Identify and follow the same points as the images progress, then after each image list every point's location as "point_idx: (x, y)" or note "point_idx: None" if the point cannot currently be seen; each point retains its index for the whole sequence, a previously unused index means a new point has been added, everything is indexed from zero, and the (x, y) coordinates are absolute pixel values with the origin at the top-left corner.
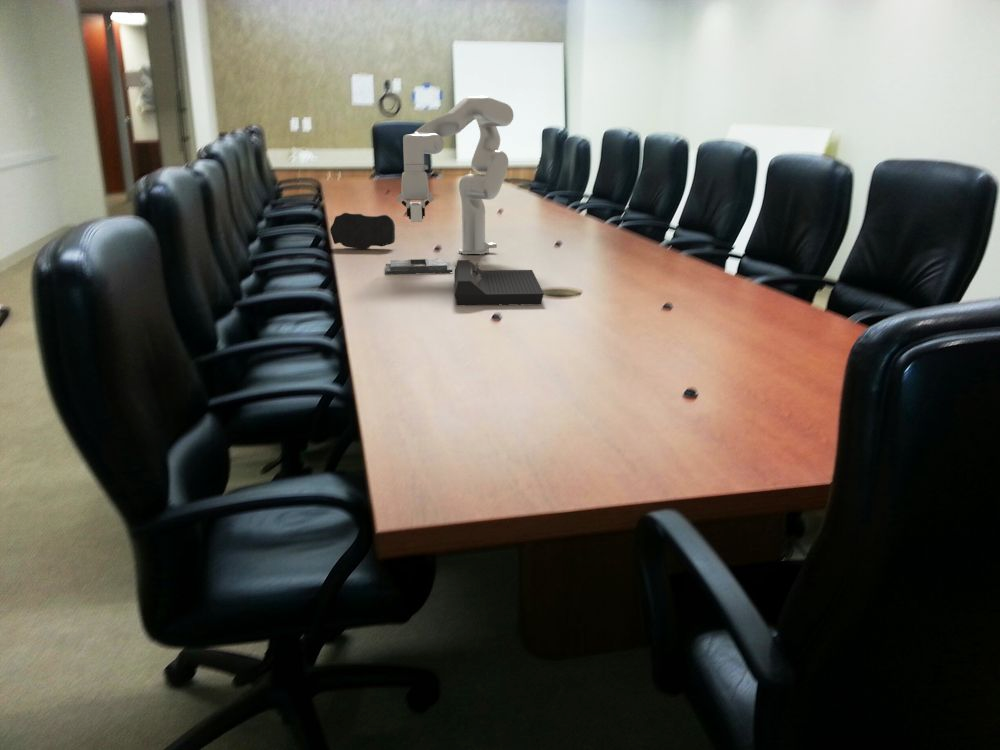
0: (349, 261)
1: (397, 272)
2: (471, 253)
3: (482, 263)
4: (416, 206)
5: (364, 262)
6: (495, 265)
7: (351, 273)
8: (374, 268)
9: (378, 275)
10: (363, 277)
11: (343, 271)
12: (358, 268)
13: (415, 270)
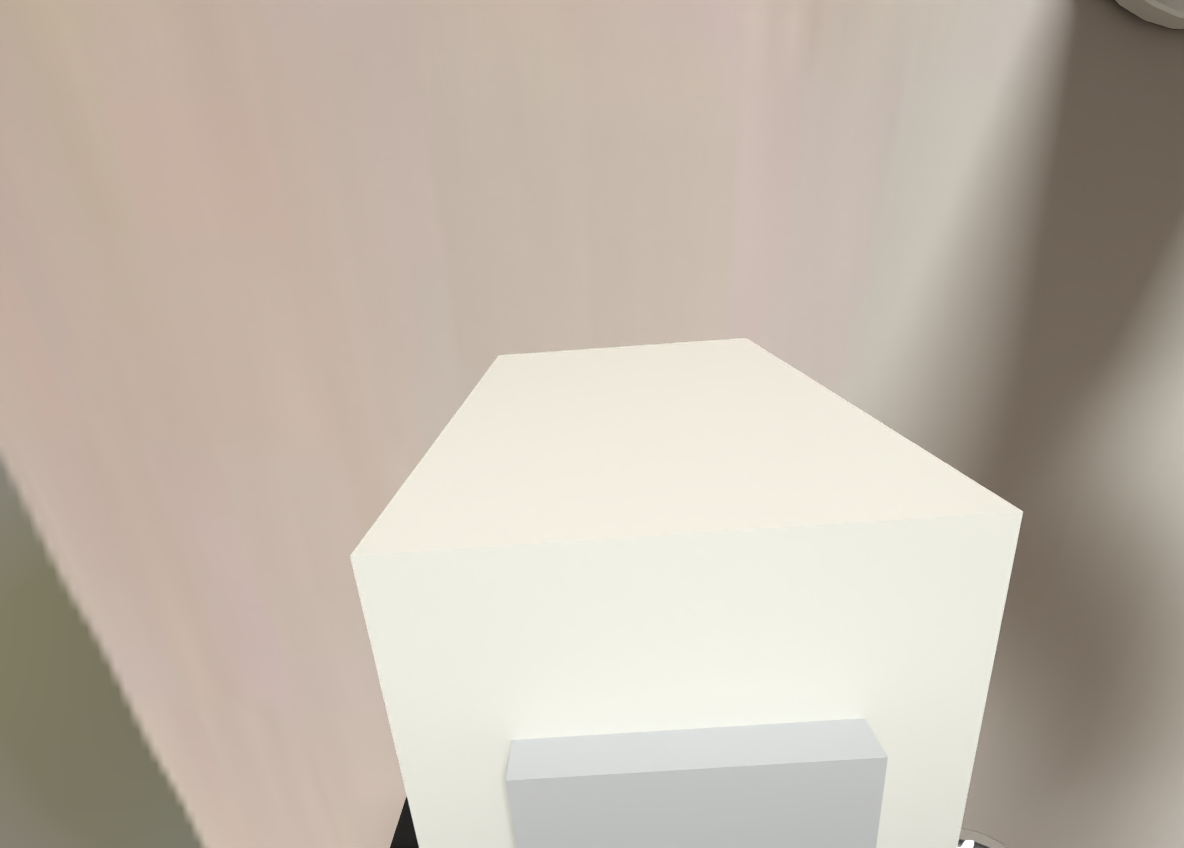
0: (6, 313)
1: None
2: (1172, 23)
3: (1108, 464)
4: None
5: (158, 368)
6: (1173, 543)
7: (204, 737)
8: (309, 603)
9: (386, 790)
10: (312, 831)
11: (128, 683)
12: (194, 597)
13: None
